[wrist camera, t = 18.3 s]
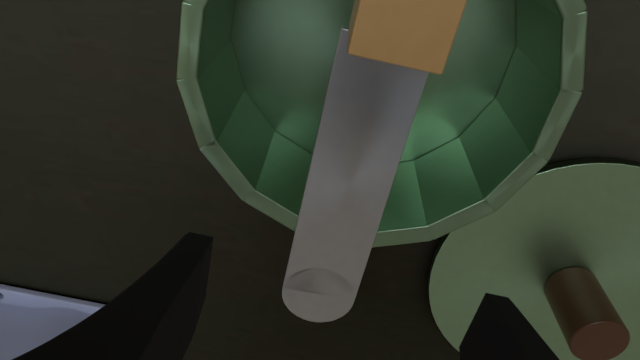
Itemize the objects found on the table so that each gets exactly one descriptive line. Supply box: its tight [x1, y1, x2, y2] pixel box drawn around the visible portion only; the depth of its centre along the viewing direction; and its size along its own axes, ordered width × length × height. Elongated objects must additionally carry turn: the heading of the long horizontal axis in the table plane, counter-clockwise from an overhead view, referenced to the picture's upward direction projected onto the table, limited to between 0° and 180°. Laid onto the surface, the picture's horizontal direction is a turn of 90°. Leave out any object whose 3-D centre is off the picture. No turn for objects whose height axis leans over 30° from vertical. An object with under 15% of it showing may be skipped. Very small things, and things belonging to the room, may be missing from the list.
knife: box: [282, 0, 467, 322], centre depth 15 cm, size 18×3×3 cm, turn 168°
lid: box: [428, 158, 640, 360], centre depth 24 cm, size 13×13×5 cm
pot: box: [176, 0, 588, 248], centre depth 18 cm, size 12×12×5 cm
